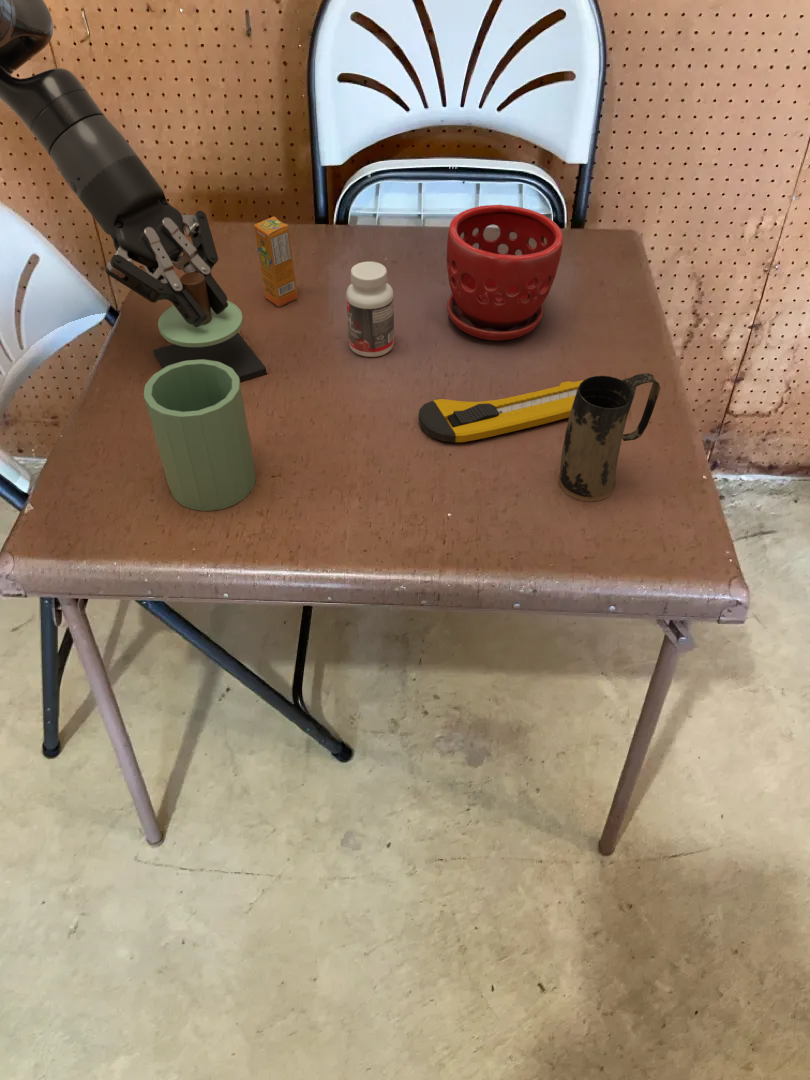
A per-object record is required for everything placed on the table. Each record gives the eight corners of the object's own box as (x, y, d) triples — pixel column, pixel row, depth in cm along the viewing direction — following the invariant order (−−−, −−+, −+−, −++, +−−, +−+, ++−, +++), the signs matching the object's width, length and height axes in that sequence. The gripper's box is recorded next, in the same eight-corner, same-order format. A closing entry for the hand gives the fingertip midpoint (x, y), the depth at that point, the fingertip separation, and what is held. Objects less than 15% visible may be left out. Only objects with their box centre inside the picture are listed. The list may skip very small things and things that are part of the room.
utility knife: (412, 415, 91) (412, 400, 89) (595, 371, 96) (598, 357, 95) (435, 454, 86) (436, 439, 85) (626, 406, 92) (630, 391, 90)
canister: (187, 522, 80) (162, 427, 71) (158, 471, 85) (131, 376, 76) (269, 492, 82) (254, 397, 74) (236, 444, 87) (218, 349, 79)
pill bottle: (339, 344, 100) (334, 269, 93) (373, 327, 102) (371, 252, 95) (369, 364, 97) (366, 287, 90) (403, 346, 100) (403, 270, 93)
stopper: (176, 361, 89) (165, 309, 85) (149, 320, 95) (136, 269, 90) (256, 337, 93) (249, 286, 88) (225, 298, 98) (217, 249, 94)
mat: (183, 400, 92) (182, 394, 92) (154, 355, 98) (152, 349, 98) (267, 373, 96) (266, 367, 95) (233, 331, 102) (232, 325, 101)
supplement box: (261, 298, 107) (251, 222, 100) (284, 289, 109) (275, 214, 101) (277, 309, 105) (267, 233, 98) (299, 299, 107) (291, 223, 100)
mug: (568, 506, 81) (588, 406, 72) (548, 469, 85) (565, 369, 76) (644, 493, 82) (673, 393, 74) (621, 456, 86) (646, 358, 77)
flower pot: (480, 362, 98) (488, 267, 89) (424, 308, 105) (426, 216, 97) (572, 333, 102) (587, 239, 93) (512, 283, 110) (521, 192, 101)
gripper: (63, 180, 80) (179, 332, 84) (169, 133, 88) (271, 274, 92) (43, 219, 86) (153, 359, 90) (145, 171, 94) (241, 302, 98)
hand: (212, 315), depth 91 cm, fingers closed on stopper, 2 cm apart
